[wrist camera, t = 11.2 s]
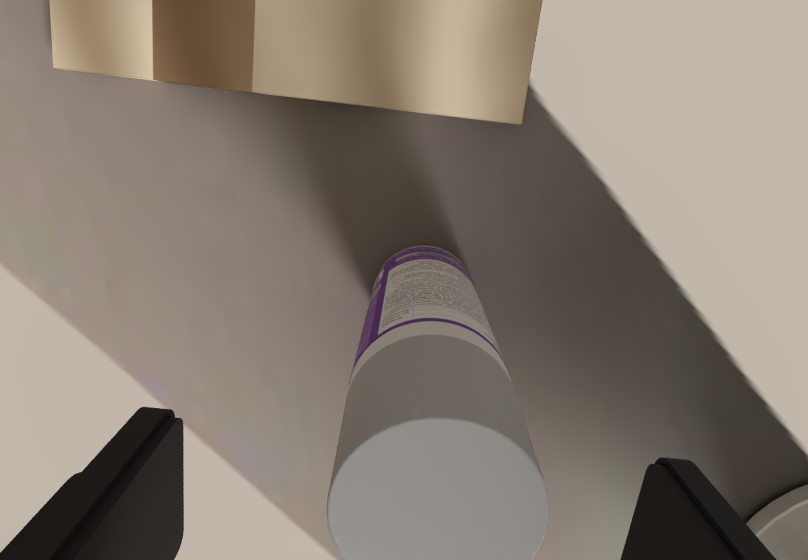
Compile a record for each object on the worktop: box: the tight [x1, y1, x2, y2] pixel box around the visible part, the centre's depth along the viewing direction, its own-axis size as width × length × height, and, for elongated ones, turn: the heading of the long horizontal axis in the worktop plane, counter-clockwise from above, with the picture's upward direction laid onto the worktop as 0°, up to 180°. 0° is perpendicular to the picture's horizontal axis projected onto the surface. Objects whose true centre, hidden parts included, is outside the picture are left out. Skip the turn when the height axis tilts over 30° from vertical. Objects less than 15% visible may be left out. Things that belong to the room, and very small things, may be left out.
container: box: [327, 245, 549, 560], centre depth 18 cm, size 5×5×15 cm
